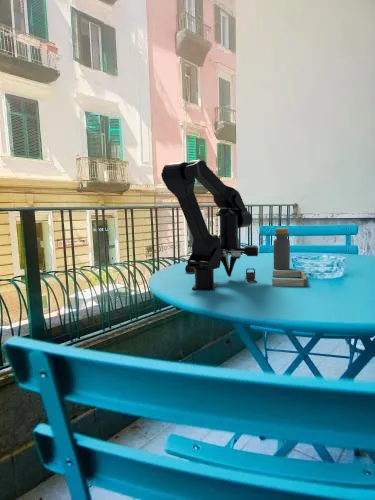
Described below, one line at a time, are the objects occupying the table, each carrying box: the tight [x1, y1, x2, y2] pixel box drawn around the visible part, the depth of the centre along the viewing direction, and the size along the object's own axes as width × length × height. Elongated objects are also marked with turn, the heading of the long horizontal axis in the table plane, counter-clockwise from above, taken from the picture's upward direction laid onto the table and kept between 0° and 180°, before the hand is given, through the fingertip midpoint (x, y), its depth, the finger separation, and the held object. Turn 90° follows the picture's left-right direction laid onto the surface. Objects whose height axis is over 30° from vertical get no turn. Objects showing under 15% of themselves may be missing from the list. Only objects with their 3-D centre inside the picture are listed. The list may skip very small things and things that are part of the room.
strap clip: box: [244, 267, 258, 284], centre depth 118 cm, size 8×3×4 cm, turn 179°
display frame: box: [271, 269, 308, 287], centre depth 116 cm, size 14×10×2 cm
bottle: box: [273, 227, 291, 271], centre depth 135 cm, size 6×6×15 cm
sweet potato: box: [184, 261, 204, 274], centre depth 140 cm, size 18×7×7 cm, turn 158°
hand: (229, 276), depth 120 cm, fingers closed
